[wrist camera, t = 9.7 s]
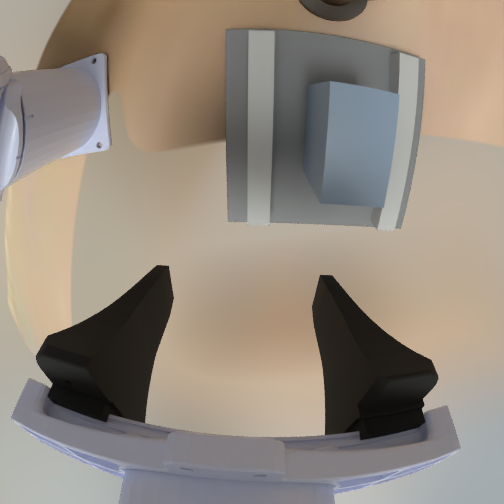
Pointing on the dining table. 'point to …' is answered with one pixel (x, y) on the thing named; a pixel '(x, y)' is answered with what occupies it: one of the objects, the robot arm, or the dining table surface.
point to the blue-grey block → (350, 143)
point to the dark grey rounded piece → (335, 8)
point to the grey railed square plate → (294, 123)
